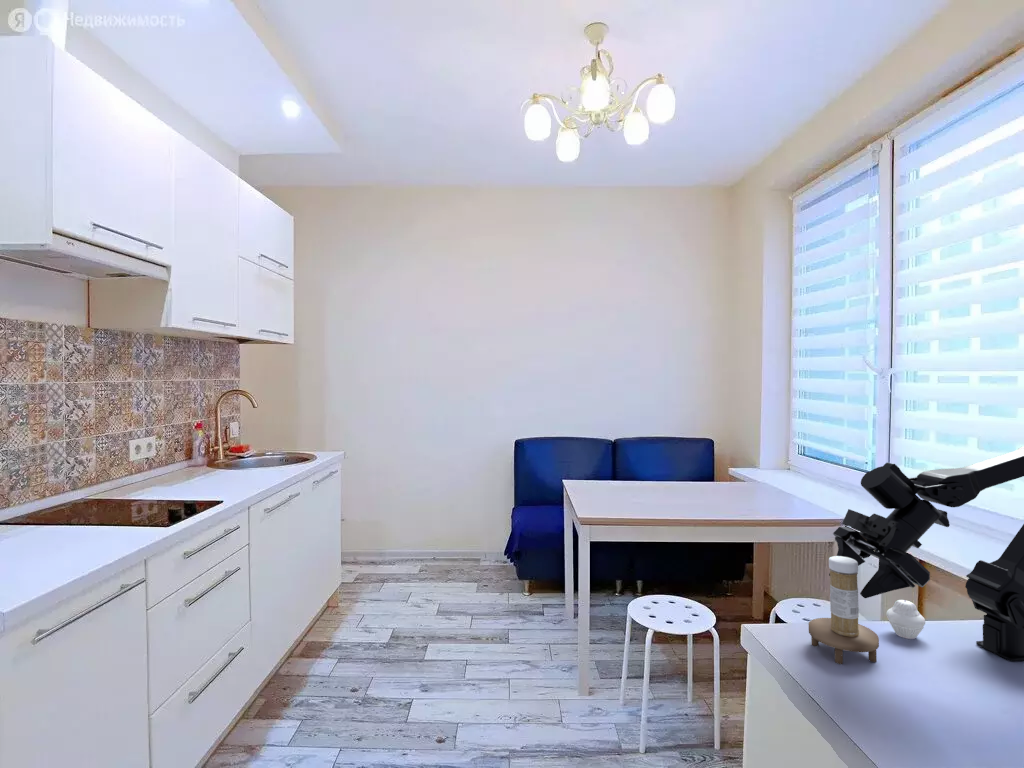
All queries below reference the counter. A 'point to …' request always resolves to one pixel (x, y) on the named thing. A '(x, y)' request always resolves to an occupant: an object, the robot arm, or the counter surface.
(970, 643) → the counter surface
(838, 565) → the sprinkles bottle
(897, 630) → the muffin
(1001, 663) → the counter surface
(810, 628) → the walnut footstool
